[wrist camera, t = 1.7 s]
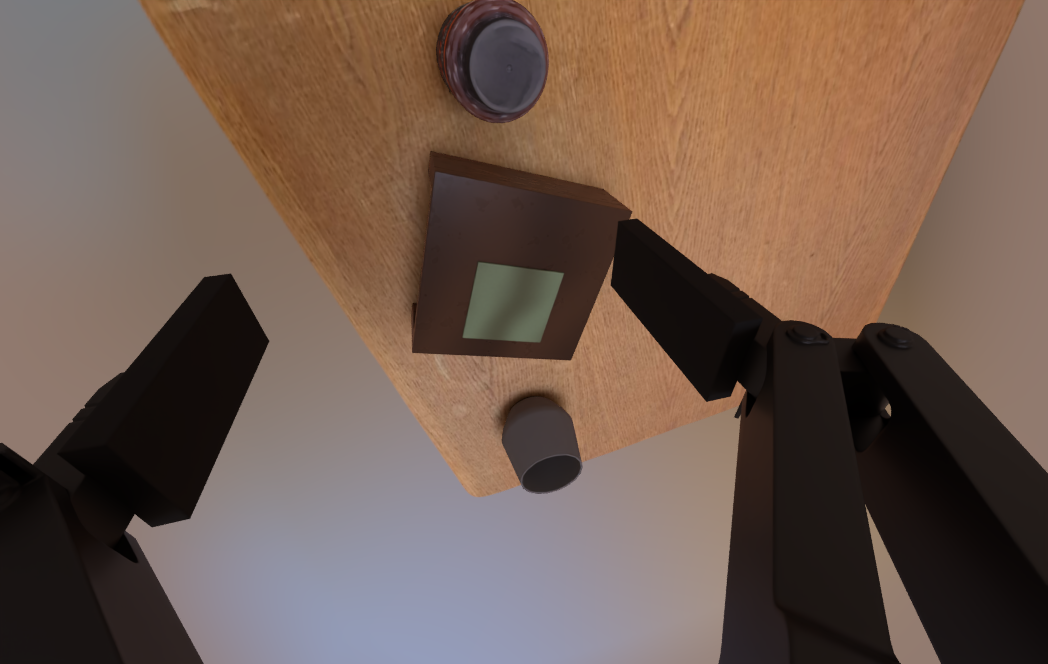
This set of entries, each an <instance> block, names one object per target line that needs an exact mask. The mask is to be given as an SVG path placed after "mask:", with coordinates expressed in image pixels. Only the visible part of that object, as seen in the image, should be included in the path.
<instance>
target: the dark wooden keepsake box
mask: <svg viewBox="0 0 1048 664" xmlns="http://www.w3.org/2000/svg"><path fill="white" fill-rule="evenodd" d="M428 173H429V178H430V184H431V195H430V203H429V211H428V219H427V227H426V235H425V243H424V251H423V259H422V267H421V276H420V284H419V292H418V300H417V303H413V305H412V314H411V325H412V353H428V354H449V355H470V356H491V357H512V358H533V359H554V360H571V359H572V356H573V354H574V352H575V349H576V347H577V344H578V342H579V339H580V337H581V335H582V332H583V330H584V327H585V325H586V323H587V320H588V318H589V315H590V313H591V310H592V308H593V306H594V303H595V301H596V298H597V296H598V294H599V291H600V289H601V286H602V284H603V281H604V279H605V277H606V274H607V272H608V269H609V267H610V265H611V262H612V260H613V257H614V253H615V244H616V236H617V227H618V221H623V220H629V219H630V216H631V214H632V211H631V210H630V209H628V208H627V207H626V206H625V205H623V204H622V203H621V202H619V201H618V200H617V199H616V198H614V197H613V196H612V195H610V194H609V193H608V192H606V191H605V190H604V189H600V188H596V187H591V186H587V185H582V184H578V183H573V182H569V181H564V180H560V179H555V178H550V177H546V176H541V175H537V174H532V173H528V172H523V171H519V170H514V169H510V168H505V167H501V166H496V165H492V164H487V163H483V162H478V161H474V160H469V159H465V158H460V157H455V156H451V155H446V154H442V153H437V152H433V151H431V152H430V159H429V168H428Z"/></svg>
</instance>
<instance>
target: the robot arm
mask: <svg viewBox="0 0 1048 664" xmlns="http://www.w3.org/2000/svg"><path fill="white" fill-rule="evenodd" d="M611 286H612V287H613V289H614V290H615V291H616V292H617V293H618V295H619V296H620V297H621V298H622V300H623V301H624V302H625V303H626V304H627V306H628V307H629V308H630V309H631V310H632V312H633V313H634V314H635V315H636V317H637V318H638V319H639V320H640V321H641V323H642V324H643V325H644V326H645V328H646V329H647V330H648V331H649V332H650V334H651V335H652V336H653V337H654V338H655V340H656V341H657V342H658V343H659V345H660V346H661V347H662V348H663V349H664V351H665V352H666V353H667V354H668V355H669V357H670V358H671V359H672V360H673V362H674V363H675V364H676V365H677V366H678V368H679V369H680V370H681V371H682V372H683V374H684V375H685V376H686V377H687V379H688V380H689V381H690V382H691V383H692V385H693V386H694V387H695V388H696V389H697V391H698V392H699V393H700V394H701V396H702V397H703V398H704V399H705V400H706V402H708V401H712V400H717V399H721V398H726V397H730V396H731V394H732V392H733V389H734V387H735V385H736V382H737V381H738V382H739V383H740V384H741V385H742V386H743V387H744V388H745V389H746V392H745V394H744V396H743V399H742V401H741V403H740V405H739V408H738V410H737V412H736V414H735V418H739V416H740V415H741V421H740V433H739V444H738V456H737V467H736V479H735V491H734V503H733V515H732V528H731V539H730V551H729V563H728V575H727V586H726V599H725V610H724V623H723V634H722V646H721V654H720V660H719V664H901V663H899V661H898V659H897V658H896V656H895V654H894V652H893V648H892V645H891V641H890V635H889V630H888V625H887V619H886V614H885V609H884V603H883V598H882V593H881V587H880V582H879V577H878V571H877V566H876V560H875V555H874V550H873V544H872V539H871V534H870V528H869V524H868V518H867V512H866V507H867V509H868V511H869V513H870V515H871V517H872V519H873V521H874V523H875V525H876V528H877V530H878V532H879V534H880V536H881V538H882V540H883V542H884V545H885V547H886V549H887V551H888V553H889V555H890V557H891V559H892V561H893V563H894V566H895V568H896V570H897V572H898V574H899V576H900V578H901V580H902V582H903V584H904V587H905V589H906V591H907V592H908V595H909V597H910V599H911V601H912V603H913V605H914V607H915V609H916V612H917V614H918V616H919V618H920V620H921V622H922V624H923V627H924V629H925V631H926V633H927V635H928V637H929V639H930V641H931V643H932V645H933V648H934V650H935V652H936V654H937V656H938V658H939V660H940V662H941V664H1048V473H1047V472H1046V471H1045V470H1044V469H1043V468H1042V467H1041V465H1040V464H1039V463H1038V462H1037V461H1036V460H1035V459H1034V458H1033V457H1032V456H1031V455H1030V453H1029V452H1028V451H1027V450H1026V449H1025V448H1024V447H1023V446H1022V445H1021V444H1020V443H1019V441H1018V440H1017V439H1016V438H1015V437H1014V436H1013V435H1012V434H1011V433H1010V432H1009V431H1008V429H1007V428H1006V427H1005V426H1004V425H1003V424H1002V423H1001V422H1000V421H999V420H998V419H997V417H996V416H995V415H994V414H993V413H992V412H991V411H990V410H989V409H988V408H987V407H986V405H985V404H984V403H983V402H982V401H981V400H980V399H979V398H978V397H977V396H976V394H975V393H974V392H973V391H972V390H971V389H970V388H969V387H968V386H967V385H966V384H965V382H964V381H963V380H962V379H961V378H960V377H959V376H958V375H957V374H956V373H955V372H954V370H953V369H952V368H951V367H950V366H949V365H948V364H947V363H946V362H945V361H944V360H943V358H942V357H941V356H940V355H939V354H938V353H937V352H936V351H935V350H934V349H933V348H932V346H930V344H929V343H928V342H927V341H926V340H924V339H923V338H922V337H921V336H919V335H918V334H916V333H914V332H912V331H910V330H909V329H907V328H904V327H900V326H898V325H894V324H885V323H870V324H868V325H865V326H864V328H863V329H862V331H861V333H860V334H859V336H858V337H857V339H850V338H832V337H831V336H830V335H829V334H828V333H827V332H826V331H824V330H823V329H821V328H819V327H817V326H815V325H812V324H809V323H806V322H802V321H793V320H789V321H781V320H780V319H779V318H777V317H776V316H775V315H773V314H772V313H771V312H769V311H768V310H767V309H766V308H764V307H763V306H762V305H760V304H759V303H758V302H756V301H755V300H754V299H752V298H749V296H748V295H747V294H746V293H744V292H743V291H740V289H739V288H738V287H736V286H735V285H734V284H733V283H731V282H730V281H729V280H727V279H724V278H722V277H720V276H717V275H715V274H713V273H711V274H707V273H706V272H704V271H703V270H702V269H701V268H699V267H698V266H697V265H695V264H694V263H693V262H692V261H690V260H689V259H688V258H687V257H685V256H684V255H683V254H682V253H680V252H679V251H678V250H676V249H675V248H674V247H673V246H671V245H670V244H669V243H668V242H666V241H665V240H664V239H662V238H661V237H660V236H659V235H657V234H656V233H655V232H654V231H652V230H651V229H650V228H649V227H647V226H646V225H645V224H643V223H642V222H641V221H640V220H638V219H630V220H623V221H618V227H617V236H616V244H615V253H614V262H613V270H612V279H611ZM268 343H269V340H268V338H267V336H266V335H265V333H264V331H263V329H262V327H261V326H260V324H259V322H258V320H257V319H256V317H255V315H254V313H253V312H252V310H251V308H250V306H249V305H248V303H247V301H246V299H245V298H244V296H243V294H242V292H241V290H240V289H239V287H238V285H237V283H236V282H235V280H234V278H233V276H232V275H231V274H224V275H217V276H209V277H204V278H203V279H202V281H201V282H200V283H199V284H198V286H197V287H196V288H195V289H194V290H193V291H192V292H191V294H190V295H189V296H188V297H187V299H186V300H185V301H184V302H183V303H182V304H181V306H180V307H179V308H178V309H177V310H176V312H175V313H174V314H173V315H172V316H171V318H170V319H169V320H168V321H167V322H166V324H165V325H164V326H163V327H162V328H161V330H160V331H159V332H158V333H157V334H156V335H155V337H154V338H153V339H152V340H151V341H150V343H149V344H148V345H147V346H146V347H145V349H144V350H143V351H142V352H141V353H140V355H139V356H138V357H137V358H136V359H135V361H134V362H133V363H132V364H131V365H130V367H129V368H128V369H127V370H126V371H125V372H124V373H120V374H119V375H117V376H116V377H114V378H113V379H112V380H110V381H109V382H108V383H106V384H105V385H104V386H102V387H101V388H100V389H98V391H97V392H96V393H95V394H94V395H93V396H92V397H91V399H90V400H89V401H88V402H87V403H86V404H85V408H83V409H81V410H80V411H79V413H77V415H76V416H75V417H74V418H73V422H72V423H69V424H68V425H67V426H66V427H65V428H64V430H63V431H62V432H61V433H60V434H59V435H58V436H57V438H56V439H55V440H54V441H53V442H52V443H51V445H50V446H49V447H48V448H47V449H46V450H45V451H44V453H43V454H42V455H41V456H40V457H39V459H37V461H36V462H35V463H34V464H33V465H32V464H31V463H29V462H28V461H27V460H25V459H24V458H22V457H21V456H20V455H18V454H17V453H16V452H14V451H13V450H11V449H10V448H8V447H7V446H6V445H4V444H3V443H0V664H203V662H202V660H201V658H200V656H199V654H198V652H197V651H196V649H195V647H194V645H193V643H192V641H191V639H190V638H189V636H188V634H187V632H186V630H185V628H184V627H183V625H182V623H181V621H180V619H179V618H178V616H177V614H176V612H175V610H174V608H173V607H172V605H171V603H170V601H169V599H168V597H167V595H166V594H165V592H164V590H163V588H162V586H161V584H160V583H159V581H158V579H157V577H156V575H155V573H154V572H153V570H152V568H151V566H150V564H149V562H148V561H147V559H146V557H145V555H144V553H143V551H142V549H141V548H140V546H139V544H138V542H137V540H136V539H135V538H134V537H133V536H132V535H130V534H129V533H127V532H126V531H125V530H126V528H127V526H128V525H129V523H130V521H131V519H132V518H133V516H134V514H136V515H137V516H138V517H139V518H141V519H142V520H143V521H144V522H146V523H147V524H148V525H150V526H151V527H156V526H160V525H164V524H169V523H173V522H177V521H182V520H186V519H190V518H191V515H192V513H193V511H194V509H195V506H196V504H197V502H198V500H199V497H200V495H201V493H202V491H203V489H204V486H205V484H206V482H207V480H208V477H209V475H210V473H211V470H212V468H213V466H214V464H215V462H216V459H217V457H218V455H219V453H220V450H221V448H222V446H223V444H224V442H225V439H226V437H227V434H228V433H229V430H230V428H231V426H232V424H233V421H234V419H235V417H236V415H237V412H238V410H239V408H240V405H241V403H242V401H243V399H244V397H245V394H246V392H247V390H248V388H249V386H250V383H251V381H252V379H253V377H254V374H255V372H256V370H257V368H258V365H259V363H260V361H261V359H262V356H263V354H264V352H265V350H266V347H267V345H268ZM888 404H890V406H891V417H890V416H889V414H888V413H887V411H886V410H885V408H886V406H887V405H888ZM865 505H866V507H865Z"/></svg>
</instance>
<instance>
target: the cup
mask: <svg viewBox="0 0 1048 664" xmlns="http://www.w3.org/2000/svg"><path fill="white" fill-rule="evenodd" d="M502 444H503V446H504V448H505V450H506V453H507V455H508V457H509V459H510V461H511V463H512V466H513V468H514V470H515V472H516V474H517V476H518V479H519V481H520V483H521V485H522V487H523V489H525V490H526V491H528V492H531V493H536V494H542V493H550V492H553V491H557V490H560V489H562V488H564V487H566V486H568V485H569V484H570V483H572V482H573V481H575V480H576V478H577V477H578V476H579V475H580V473H581V470H582V462H581V457H580V453H579V448H578V443H577V439H576V434H575V430H574V426H573V421H572V418H571V416H570V415H569V414H568V413H567V412H566V411H565V410H564V409H563V408H562V407H560V406H559V405H557V404H556V403H554V402H553V401H551V400H549V399H547V398H544V397H530V398H526V399H524V400H522V401H520V402H518V403H517V404H516V405H515V406H513V407H512V409H511V410H510V412H509V414H508V416H507V419H506V422H505V425H504V428H503V434H502Z"/></svg>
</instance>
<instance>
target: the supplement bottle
mask: <svg viewBox="0 0 1048 664" xmlns="http://www.w3.org/2000/svg"><path fill="white" fill-rule="evenodd" d="M436 55H437V62H438V67H439V70H440V73H441V76H442V78H443V80H444V82H445V83H446V85H447V87H448V88H449V92H450V91H451V92H452V94H453V95H454V97H455V98H456V99H457V100H458V102H459V103H460V104H461V105H462V106H463V107H464V108H465V109H466V110H467V111H468V112H469V113H471V114H472V115H474V116H475V117H477V118H479V119H481V120H484V121H487V122H491V123H505V122H510V121H513V120H516V119H518V118H520V117H522V116H523V115H525V114H526V113H527V112H528V111H529V110H530V109H531V108H532V107H533V106H534V105H535V104H536V102H537V101H538V99H539V97H540V96H541V94H542V92H543V89H544V87H545V84H546V80H547V75H548V66H549V59H548V49H547V44H546V41H545V37H544V35H543V32H542V30H541V28H540V26H539V24H538V22H537V21H536V20H535V18H534V17H533V15H532V14H531V13H530V12H529V11H528V10H527V9H526V8H525V7H523V6H522V5H521V4H519V3H517V2H516V1H513V0H475V1H472V2H469V3H466V4H464V5H462V6H460V7H458V8H457V9H455V10H454V11H453V12H452V13H451V14H450V15H448V17H447V19H446V20H445V21H444V23H443V24H442V27H441V29H440V32H439V35H438V40H437V47H436Z"/></svg>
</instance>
